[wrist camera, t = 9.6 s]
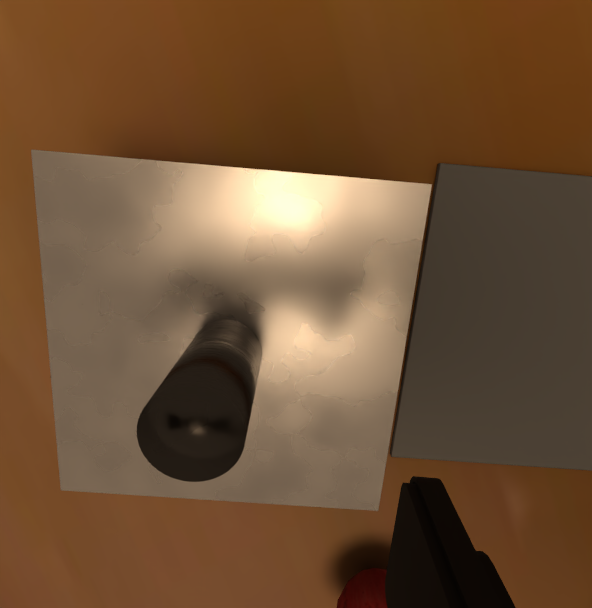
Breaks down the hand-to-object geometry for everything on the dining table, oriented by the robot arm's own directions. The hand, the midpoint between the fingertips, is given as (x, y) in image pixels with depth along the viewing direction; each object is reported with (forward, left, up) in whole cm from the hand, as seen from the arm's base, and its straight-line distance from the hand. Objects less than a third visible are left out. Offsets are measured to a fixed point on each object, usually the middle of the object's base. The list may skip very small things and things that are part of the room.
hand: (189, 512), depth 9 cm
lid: (+1, 0, -9) cm, 9 cm away
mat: (-18, 0, -15) cm, 24 cm away
